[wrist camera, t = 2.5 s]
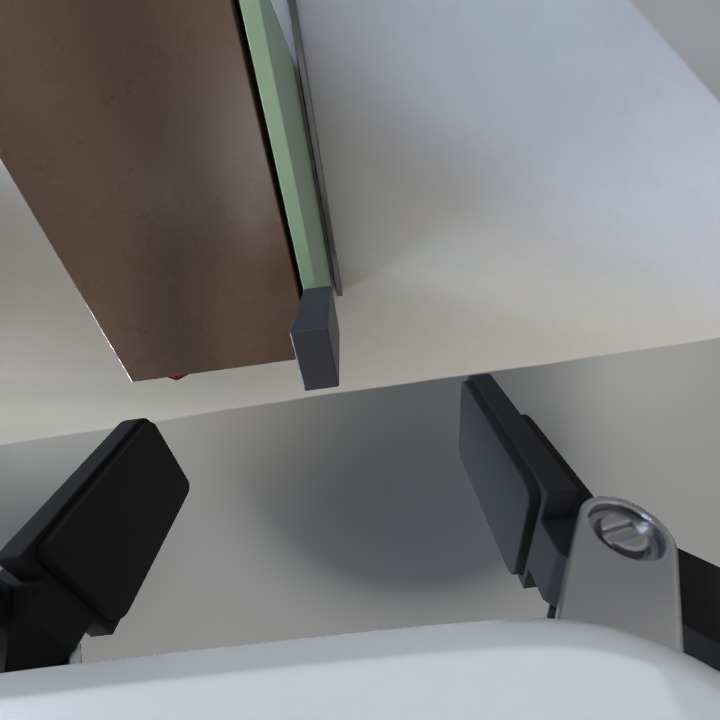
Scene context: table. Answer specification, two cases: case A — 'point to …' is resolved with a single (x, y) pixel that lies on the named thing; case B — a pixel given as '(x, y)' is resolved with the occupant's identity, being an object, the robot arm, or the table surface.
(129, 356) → the cabinet
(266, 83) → the sliding door
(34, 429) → the table surface
